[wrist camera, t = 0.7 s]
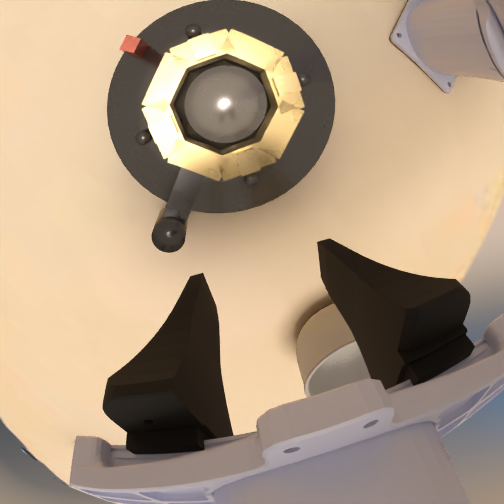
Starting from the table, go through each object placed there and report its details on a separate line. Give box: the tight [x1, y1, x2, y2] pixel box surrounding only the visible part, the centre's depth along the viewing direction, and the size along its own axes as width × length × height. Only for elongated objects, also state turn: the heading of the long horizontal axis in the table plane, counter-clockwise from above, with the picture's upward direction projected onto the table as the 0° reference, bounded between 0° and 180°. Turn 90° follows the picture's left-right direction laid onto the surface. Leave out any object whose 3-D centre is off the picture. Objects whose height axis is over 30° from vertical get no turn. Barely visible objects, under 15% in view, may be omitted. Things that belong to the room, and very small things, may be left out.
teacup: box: [296, 304, 371, 397], centre depth 27 cm, size 14×11×8 cm
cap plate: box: [107, 0, 335, 213], centre depth 16 cm, size 16×16×5 cm
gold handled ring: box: [142, 29, 305, 253], centre depth 17 cm, size 15×9×3 cm, turn 154°
